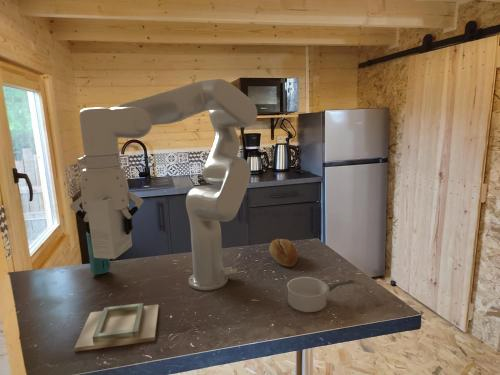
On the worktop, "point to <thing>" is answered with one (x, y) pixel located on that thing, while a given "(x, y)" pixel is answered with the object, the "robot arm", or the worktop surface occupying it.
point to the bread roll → (283, 252)
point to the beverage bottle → (97, 260)
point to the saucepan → (310, 293)
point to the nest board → (119, 326)
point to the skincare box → (107, 229)
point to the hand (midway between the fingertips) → (110, 234)
